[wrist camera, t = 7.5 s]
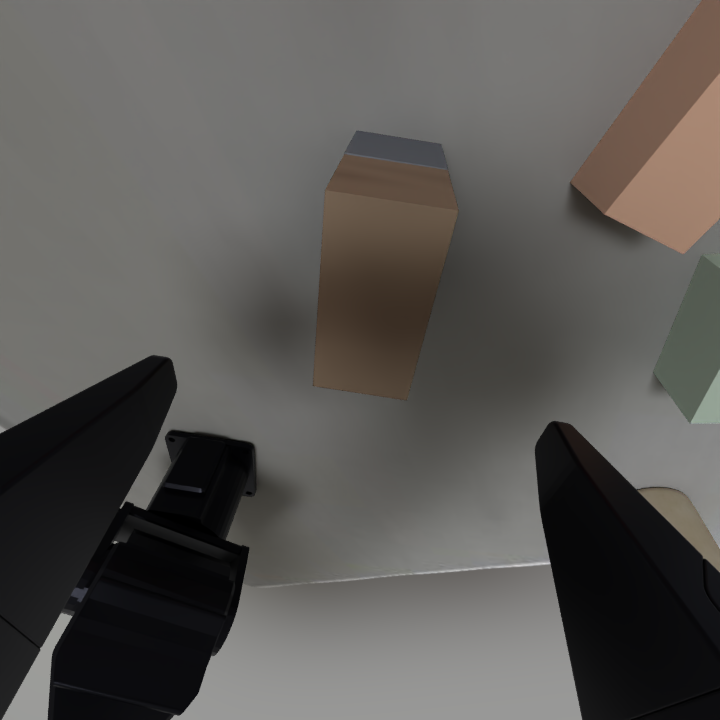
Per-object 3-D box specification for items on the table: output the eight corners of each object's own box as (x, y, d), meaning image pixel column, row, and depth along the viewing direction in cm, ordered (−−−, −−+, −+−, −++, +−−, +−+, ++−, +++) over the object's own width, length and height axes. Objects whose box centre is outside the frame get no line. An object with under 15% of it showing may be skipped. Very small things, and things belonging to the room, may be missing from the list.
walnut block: (407, 337, 18) (406, 400, 15) (329, 325, 18) (312, 385, 15) (447, 170, 14) (458, 210, 10) (344, 154, 14) (325, 190, 10)
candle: (655, 476, 28) (748, 645, 20) (707, 504, 29) (812, 672, 22) (589, 510, 31) (648, 667, 24) (639, 534, 33) (709, 690, 25)
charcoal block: (407, 291, 21) (406, 336, 18) (340, 281, 21) (328, 324, 18) (441, 143, 17) (447, 168, 14) (357, 130, 17) (344, 152, 14)
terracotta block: (635, 215, 18) (683, 254, 15) (569, 181, 17) (604, 214, 14) (803, 23, 13) (921, 20, 10) (722, -32, 13) (822, -52, 10)
